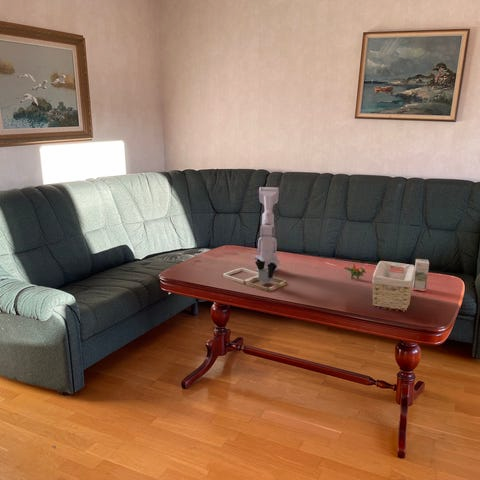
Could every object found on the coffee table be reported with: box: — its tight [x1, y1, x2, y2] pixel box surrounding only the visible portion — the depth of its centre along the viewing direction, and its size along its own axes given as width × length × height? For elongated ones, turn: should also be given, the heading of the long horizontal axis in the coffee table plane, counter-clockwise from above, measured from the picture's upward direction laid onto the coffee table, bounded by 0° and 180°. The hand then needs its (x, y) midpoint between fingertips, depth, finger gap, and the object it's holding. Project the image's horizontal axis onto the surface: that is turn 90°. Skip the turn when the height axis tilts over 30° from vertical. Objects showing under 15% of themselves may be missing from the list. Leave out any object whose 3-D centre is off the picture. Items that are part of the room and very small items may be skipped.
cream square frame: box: [221, 267, 259, 285], centre depth 231 cm, size 15×15×2 cm
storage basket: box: [371, 260, 415, 311], centre depth 201 cm, size 24×16×15 cm
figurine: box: [343, 263, 367, 281], centre depth 229 cm, size 3×12×8 cm, turn 55°
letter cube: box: [258, 268, 274, 283], centre depth 220 cm, size 5×5×5 cm
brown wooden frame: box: [244, 276, 288, 293], centre depth 221 cm, size 15×15×2 cm
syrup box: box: [412, 258, 430, 290], centre depth 215 cm, size 6×6×14 cm
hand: (266, 276), depth 220 cm, fingers closed on letter cube, 5 cm apart
